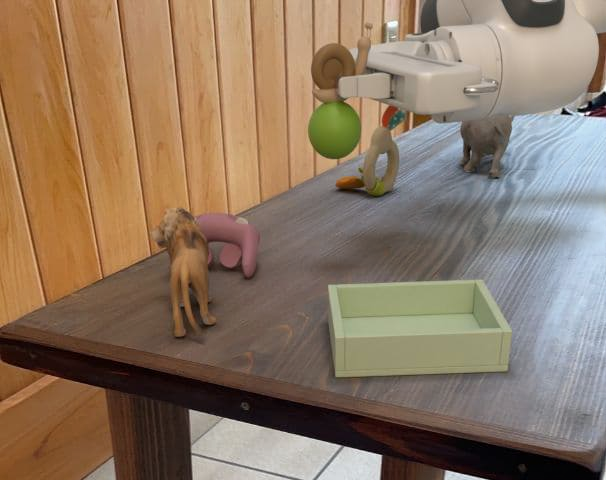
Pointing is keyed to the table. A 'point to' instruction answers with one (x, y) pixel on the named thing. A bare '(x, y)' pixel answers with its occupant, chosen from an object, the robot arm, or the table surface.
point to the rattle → (379, 145)
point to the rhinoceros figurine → (485, 141)
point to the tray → (416, 329)
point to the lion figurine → (185, 265)
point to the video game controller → (231, 240)
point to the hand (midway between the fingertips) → (331, 85)
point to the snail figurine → (336, 99)
